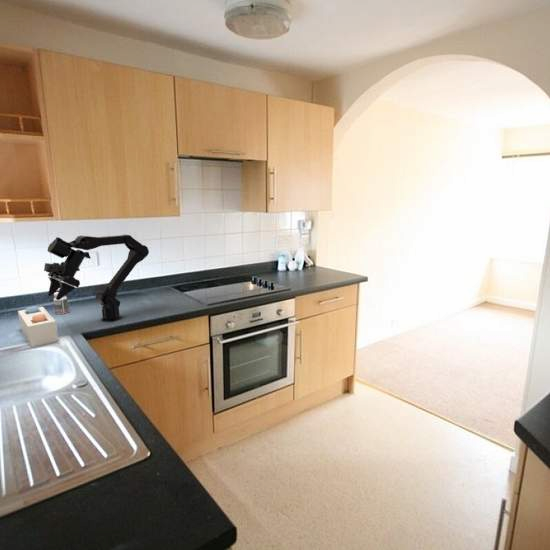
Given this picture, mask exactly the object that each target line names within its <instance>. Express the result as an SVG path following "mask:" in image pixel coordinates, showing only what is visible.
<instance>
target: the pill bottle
mask: <svg viewBox="0 0 550 550" xmlns="http://www.w3.org/2000/svg"><path fill="white" fill-rule="evenodd" d="M58 292H59V291H56V292H55V293H54V294H53V296H54V298H53V305H54V311H55V312H54V313H55V314H56V315H64V313H65V314H67V313H69V312H70V309H69V302H68V297H67V296H66V295H65V296H64V297H62V298H61V299H60V300H57V299H56V297H57V294H58Z"/></svg>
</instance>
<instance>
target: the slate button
mask: <svg viewBox="0 0 550 550" xmlns="http://www.w3.org/2000/svg"><path fill="white" fill-rule="evenodd" d="M38 307H39V306H38V305H32V306H28V307H26V308H25V310H26V313H27V314H31V313H37V312H39V308H38Z"/></svg>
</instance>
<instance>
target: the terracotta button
mask: <svg viewBox="0 0 550 550" xmlns="http://www.w3.org/2000/svg"><path fill="white" fill-rule="evenodd" d="M32 320H33V323H38V322H43V321H46V316H45V315H44V314H40V315H35V316H33V317H32Z"/></svg>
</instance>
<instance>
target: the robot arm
mask: <svg viewBox="0 0 550 550" xmlns="http://www.w3.org/2000/svg"><path fill="white" fill-rule="evenodd" d="M113 245H114V246H115V245H124V246H125V247H126V248H127V249H128V250H129V251H128V255H127V258H126V260H125V261H124V262H123V264H122V265H121V266H120V268H119V269H118V271H116V272H115V274H114V276H113V277H112V278H111V280H110V281H109V282H108V283H107V284H101V285H100V286H99V288H98V289H97V290H96V291H95V300H96V301H97V302H98V303H100V305H101V313H102V314H101V315H102V318H101V321H104V322H105V321H107V322H115V321H117V320H118V319H121V318H122V317H123V315H120V306H121V301H120V300H119V299H117V298H116V297H117V296H118V291H119V288H120V287H121V286H122V284H123V283H124V282H125V280H126V279H127V278H128V277H129V275H130V273H131V272H132V271H133V269H135V267H136V265H137V264H139V263H140V262H142V261H143V260H144V259H146V257H148V255H149V253H150V251H149V247H147V246H146V245H144V244H142V243H141V242H139V241H138V240H137V239H135V238H134V237H133V236H132V235H130V234H121V235H108V236H107V235H106V236H90V235H78V236H76V237H75V239H73V240H72V241H69V242H67V241H65V240H64V239H63V238H61V237H58V236H57V237H56V238H55V239H54V240H53V241H52V242H51V243H50V244H49V245H48V247H47V252H48V253H50V254H52V255H54V256H56V257H59V258H60V259H64V258H65V260H64V261H61V263H59V262H53V263H49V262H44V269H43V271H44V272H46V273H47V276H48V277H47V278H48V279H49V282H50V283H49V284H50V285H49V290H48V294H47V296H49V297H51V296H54V293H56V292H58V294H57V297H56V299H57V300H60V299H61V298H62V297H64V296H66V295H68V294H69V293H70V292H72V291H73V290H76V289H77V288H79V286H80V285H81V282H80V279H77V278H76V277H75V275H77V274H76V273H77V272H80V271H81V270H80V267H81V265H82V263H83V261H84V259H91V256H90V252H89V251H90V250H94V249H97V248H99V247H102V246H103V247H105V246H113ZM84 250H85V252H84Z"/></svg>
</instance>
